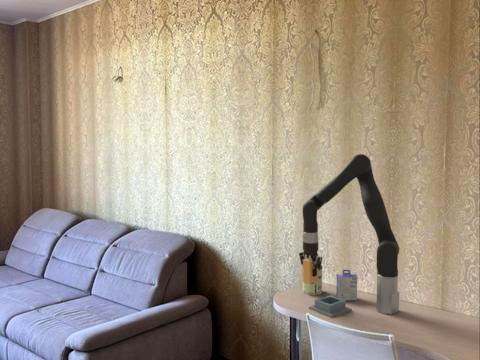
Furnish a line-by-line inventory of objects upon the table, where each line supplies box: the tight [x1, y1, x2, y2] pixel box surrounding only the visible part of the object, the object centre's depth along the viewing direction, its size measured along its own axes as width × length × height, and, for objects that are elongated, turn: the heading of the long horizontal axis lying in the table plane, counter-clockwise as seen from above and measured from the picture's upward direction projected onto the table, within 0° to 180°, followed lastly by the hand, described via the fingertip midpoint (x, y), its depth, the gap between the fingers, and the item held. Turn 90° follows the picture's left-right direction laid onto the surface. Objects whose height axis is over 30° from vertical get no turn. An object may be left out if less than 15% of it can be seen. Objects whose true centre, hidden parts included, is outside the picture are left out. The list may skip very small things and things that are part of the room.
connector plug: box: [302, 258, 318, 284], centre depth 225 cm, size 4×6×12 cm
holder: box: [308, 294, 352, 318], centre depth 216 cm, size 14×14×4 cm
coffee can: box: [302, 264, 323, 296], centre depth 241 cm, size 10×10×14 cm
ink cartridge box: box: [335, 269, 358, 301], centre depth 231 cm, size 10×6×14 cm, turn 89°
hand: (310, 274), depth 225 cm, fingers closed on connector plug, 4 cm apart
